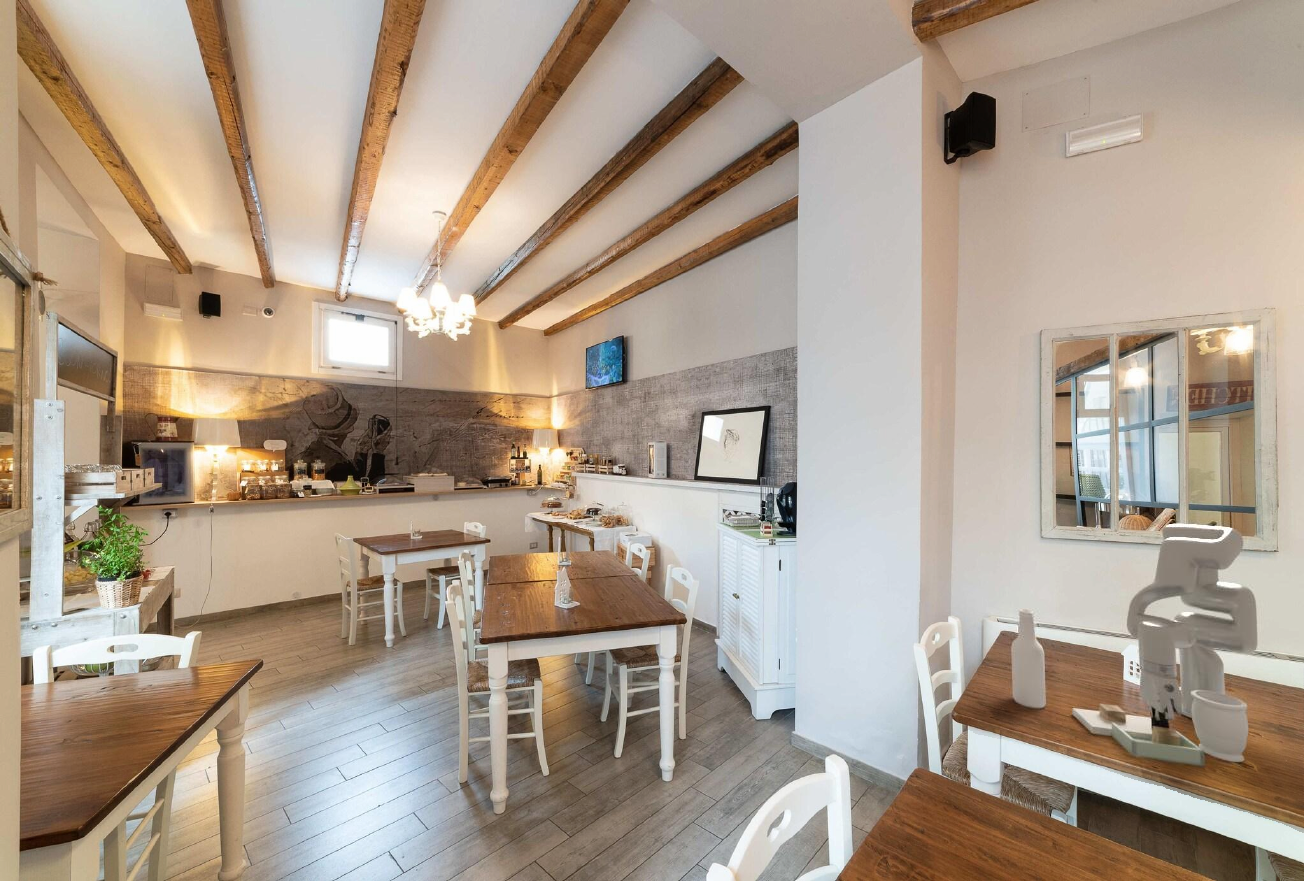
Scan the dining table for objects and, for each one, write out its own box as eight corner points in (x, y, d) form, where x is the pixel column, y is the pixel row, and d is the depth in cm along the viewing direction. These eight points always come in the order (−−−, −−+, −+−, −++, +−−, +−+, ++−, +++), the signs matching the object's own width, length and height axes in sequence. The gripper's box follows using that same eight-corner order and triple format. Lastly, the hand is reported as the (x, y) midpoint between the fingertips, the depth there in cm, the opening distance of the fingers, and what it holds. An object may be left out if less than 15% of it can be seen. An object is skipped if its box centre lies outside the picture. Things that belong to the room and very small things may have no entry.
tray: (1177, 745, 143) (1177, 731, 143) (1204, 766, 133) (1204, 750, 133) (1112, 736, 147) (1111, 722, 148) (1133, 756, 138) (1132, 741, 138)
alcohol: (1047, 702, 169) (1044, 610, 170) (1044, 712, 162) (1041, 616, 164) (1015, 694, 175) (1012, 605, 176) (1010, 703, 168) (1008, 611, 170)
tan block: (1117, 715, 156) (1117, 705, 156) (1126, 722, 152) (1125, 712, 152) (1099, 713, 157) (1099, 703, 157) (1107, 720, 153) (1107, 710, 153)
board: (1152, 724, 155) (1151, 717, 155) (1178, 745, 143) (1178, 737, 143) (1072, 714, 161) (1072, 708, 161) (1092, 733, 149) (1092, 726, 149)
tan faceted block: (1173, 729, 141) (1180, 737, 138) (1172, 743, 142) (1178, 751, 139) (1152, 726, 143) (1158, 734, 140) (1151, 739, 144) (1157, 747, 141)
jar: (1258, 770, 132) (1255, 710, 132) (1201, 757, 137) (1198, 700, 138) (1239, 750, 141) (1236, 695, 141) (1187, 739, 146) (1184, 686, 147)
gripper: (1192, 679, 136) (1196, 750, 135) (1157, 659, 150) (1160, 723, 150) (1157, 675, 139) (1160, 745, 138) (1126, 656, 153) (1128, 719, 152)
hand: (1160, 733), depth 144 cm, fingers closed
